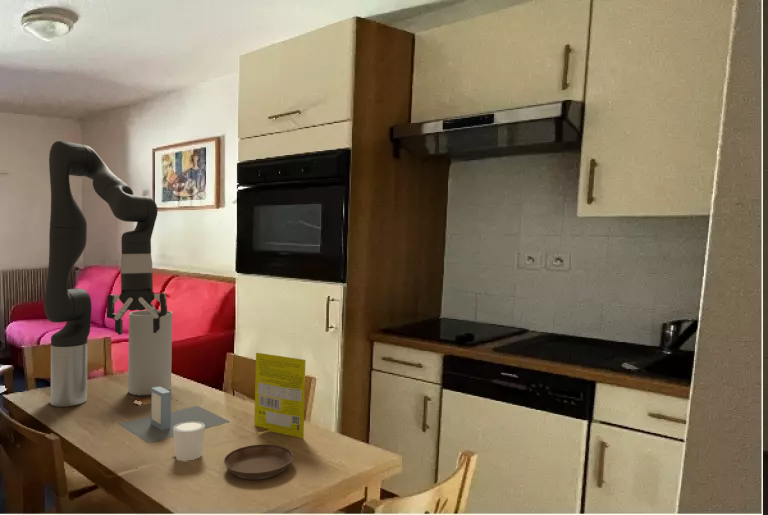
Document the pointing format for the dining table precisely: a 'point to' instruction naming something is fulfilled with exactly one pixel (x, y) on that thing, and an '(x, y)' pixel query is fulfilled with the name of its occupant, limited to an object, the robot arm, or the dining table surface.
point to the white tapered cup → (188, 440)
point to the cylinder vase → (149, 353)
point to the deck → (160, 408)
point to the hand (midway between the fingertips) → (137, 333)
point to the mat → (172, 423)
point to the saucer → (258, 461)
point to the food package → (280, 394)
